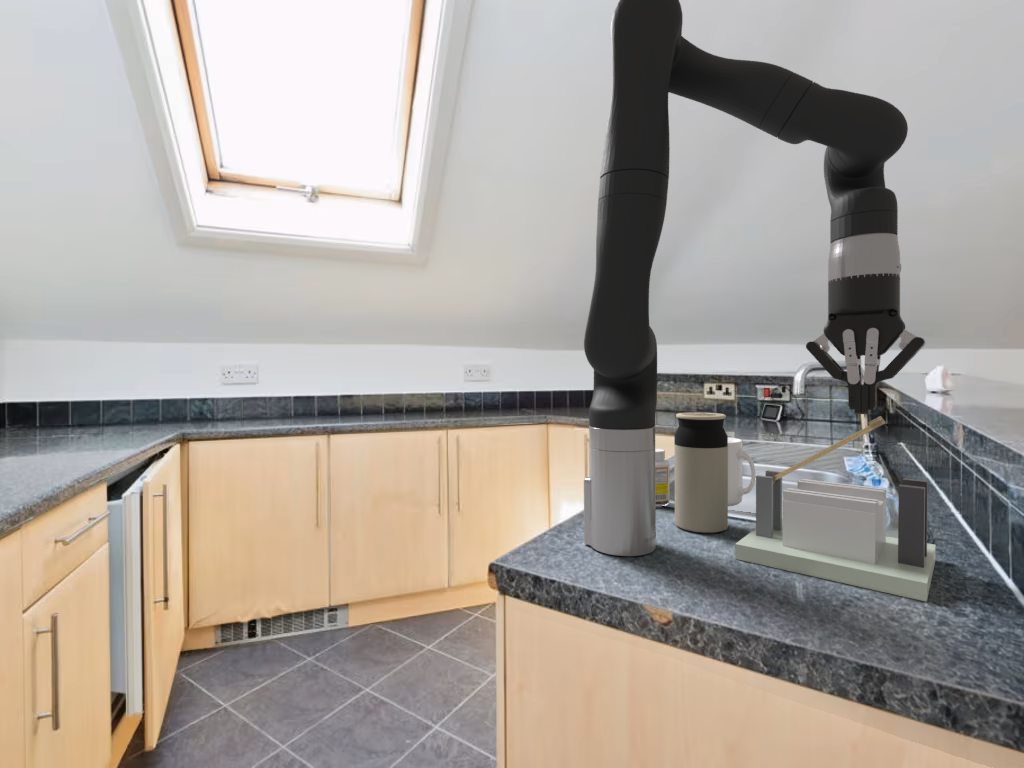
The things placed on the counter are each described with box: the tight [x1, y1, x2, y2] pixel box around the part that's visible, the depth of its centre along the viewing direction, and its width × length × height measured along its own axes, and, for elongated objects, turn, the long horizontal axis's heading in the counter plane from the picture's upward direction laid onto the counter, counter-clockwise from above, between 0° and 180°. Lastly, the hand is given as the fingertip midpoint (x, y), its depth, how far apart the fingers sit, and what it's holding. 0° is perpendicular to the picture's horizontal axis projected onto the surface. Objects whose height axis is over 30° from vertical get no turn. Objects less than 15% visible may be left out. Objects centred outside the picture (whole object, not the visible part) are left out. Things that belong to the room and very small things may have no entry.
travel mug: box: [673, 411, 729, 534], centre depth 84 cm, size 8×8×18 cm
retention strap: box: [769, 415, 887, 484], centre depth 70 cm, size 17×3×1 cm
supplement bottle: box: [655, 448, 671, 506], centre depth 98 cm, size 6×6×10 cm
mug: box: [728, 436, 756, 507], centre depth 99 cm, size 10×12×12 cm
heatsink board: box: [734, 470, 937, 602], centre depth 69 cm, size 20×16×11 cm
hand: (862, 413), depth 66 cm, fingers closed
